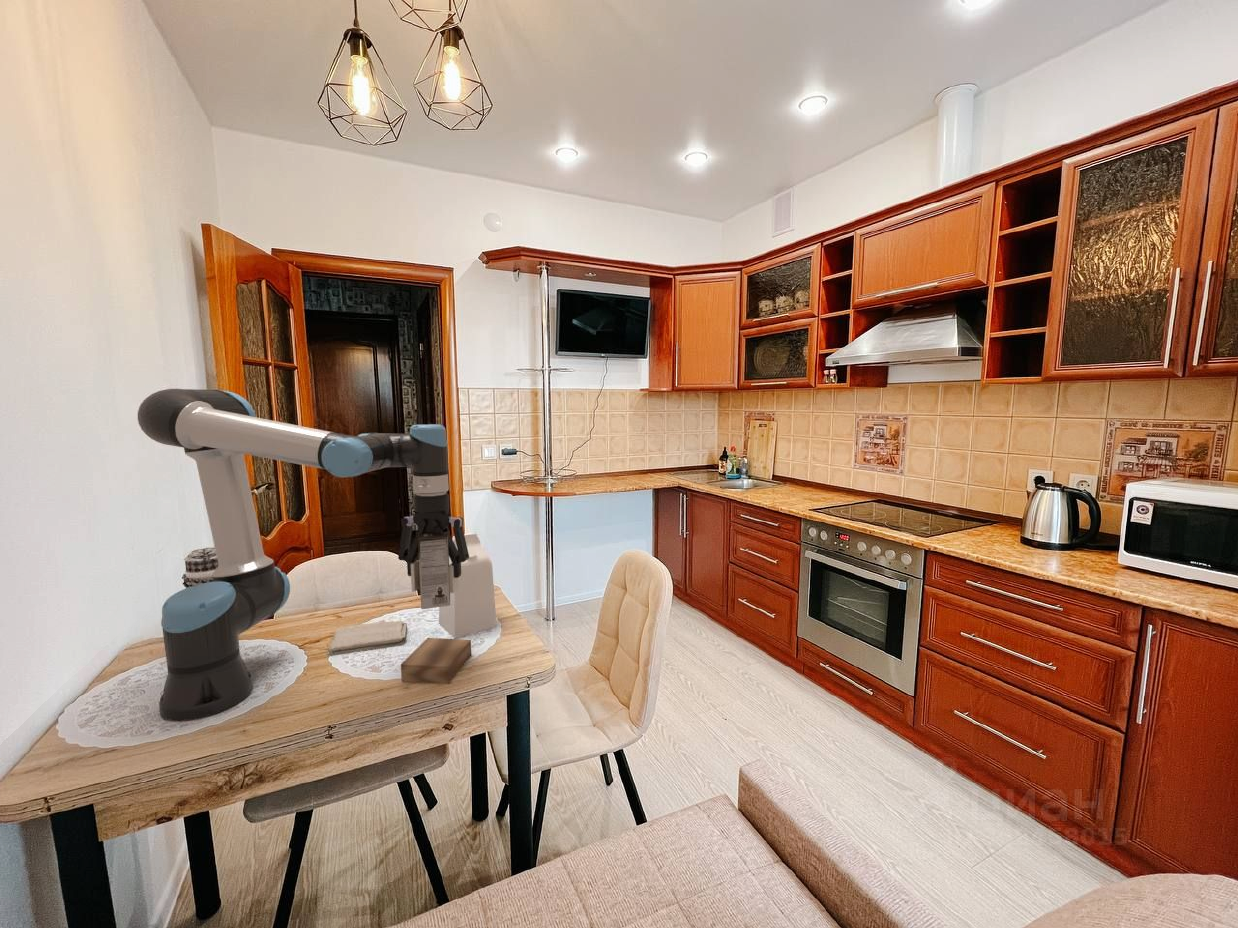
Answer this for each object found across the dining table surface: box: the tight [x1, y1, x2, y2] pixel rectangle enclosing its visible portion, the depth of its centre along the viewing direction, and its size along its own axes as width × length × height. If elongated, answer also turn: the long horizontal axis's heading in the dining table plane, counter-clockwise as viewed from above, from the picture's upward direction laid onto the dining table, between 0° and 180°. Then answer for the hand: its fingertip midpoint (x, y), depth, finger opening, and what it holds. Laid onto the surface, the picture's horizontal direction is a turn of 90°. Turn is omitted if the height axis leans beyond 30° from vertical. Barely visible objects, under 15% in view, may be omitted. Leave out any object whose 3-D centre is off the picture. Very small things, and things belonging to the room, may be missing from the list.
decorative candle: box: [181, 547, 218, 589], centre depth 128 cm, size 9×9×25 cm
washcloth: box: [328, 620, 408, 656], centre depth 133 cm, size 12×18×3 cm, turn 111°
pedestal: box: [400, 637, 472, 685], centre depth 119 cm, size 11×13×4 cm
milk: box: [438, 532, 498, 639], centre depth 141 cm, size 12×12×26 cm
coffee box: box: [418, 532, 450, 610], centre depth 116 cm, size 9×6×16 cm
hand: (435, 589), depth 117 cm, fingers closed on coffee box, 8 cm apart
